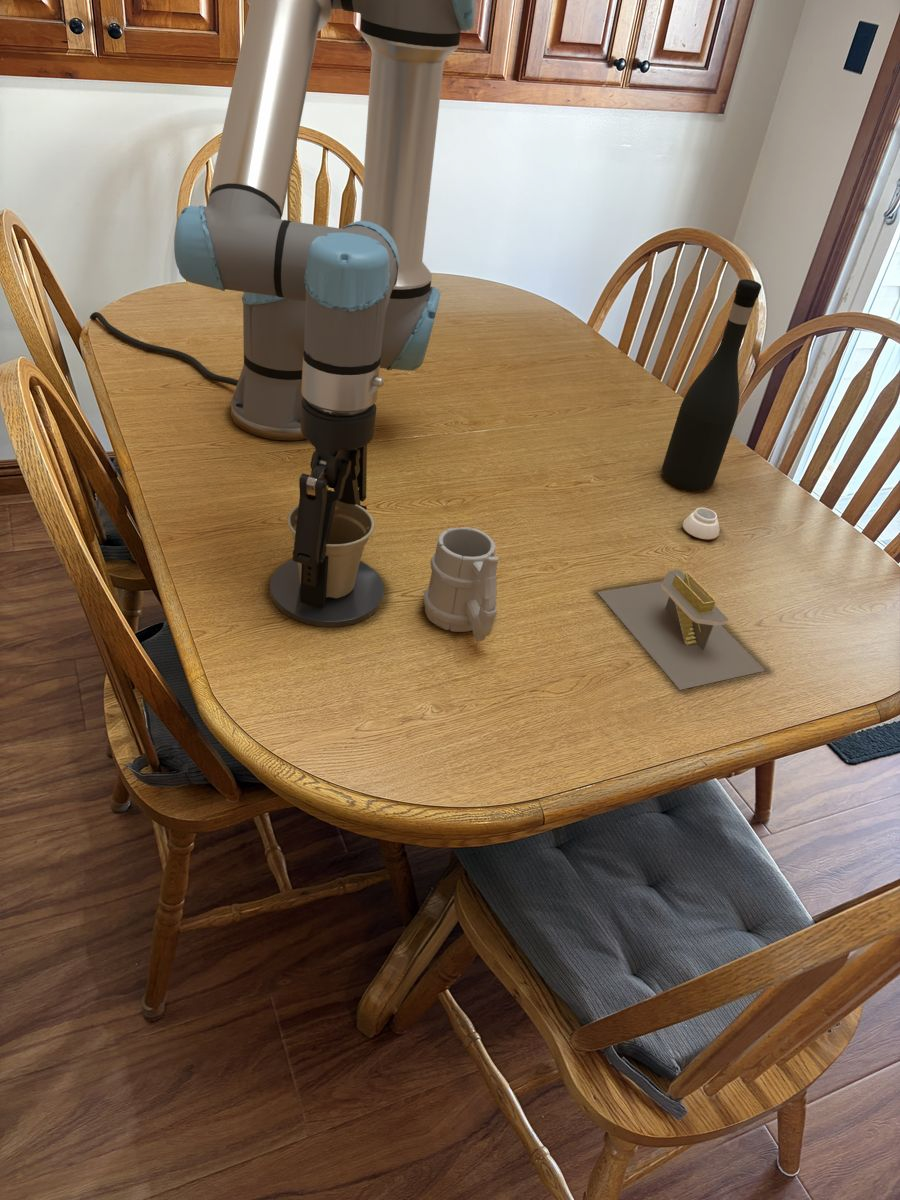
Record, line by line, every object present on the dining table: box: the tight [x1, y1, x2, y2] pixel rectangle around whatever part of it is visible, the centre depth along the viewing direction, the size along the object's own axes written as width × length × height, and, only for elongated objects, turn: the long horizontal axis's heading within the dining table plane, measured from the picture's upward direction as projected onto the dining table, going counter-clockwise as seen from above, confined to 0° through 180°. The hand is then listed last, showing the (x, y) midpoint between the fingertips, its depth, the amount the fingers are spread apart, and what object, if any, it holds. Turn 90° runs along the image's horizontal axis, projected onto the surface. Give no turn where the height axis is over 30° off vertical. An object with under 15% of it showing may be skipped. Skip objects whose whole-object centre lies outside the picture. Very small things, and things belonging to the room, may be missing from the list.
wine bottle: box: [661, 278, 762, 492], centre depth 132 cm, size 8×8×30 cm
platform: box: [596, 569, 766, 691], centre depth 109 cm, size 12×18×7 cm, turn 23°
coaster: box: [269, 558, 385, 628], centre depth 108 cm, size 13×13×1 cm
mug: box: [423, 526, 499, 642], centre depth 103 cm, size 8×12×12 cm, turn 23°
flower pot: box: [286, 500, 375, 598], centre depth 105 cm, size 9×9×9 cm
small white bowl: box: [682, 507, 721, 540], centre depth 129 cm, size 5×3×5 cm
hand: (327, 581), depth 107 cm, fingers closed on flower pot, 8 cm apart
